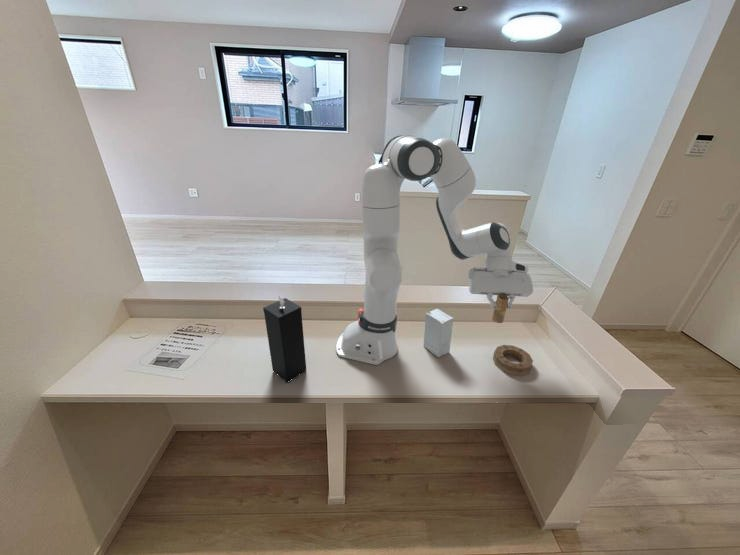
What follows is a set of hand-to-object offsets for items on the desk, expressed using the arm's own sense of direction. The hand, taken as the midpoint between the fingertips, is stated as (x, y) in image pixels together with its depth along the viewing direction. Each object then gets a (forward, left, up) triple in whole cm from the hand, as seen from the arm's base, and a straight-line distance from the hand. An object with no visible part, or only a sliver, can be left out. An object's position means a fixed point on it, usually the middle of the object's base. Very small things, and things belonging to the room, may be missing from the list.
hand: (501, 307), depth 103 cm
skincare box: (-19, +1, -20) cm, 28 cm away
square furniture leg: (-68, -17, -20) cm, 73 cm away
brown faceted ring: (+7, -3, -20) cm, 21 cm away
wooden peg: (0, +1, -5) cm, 5 cm away
